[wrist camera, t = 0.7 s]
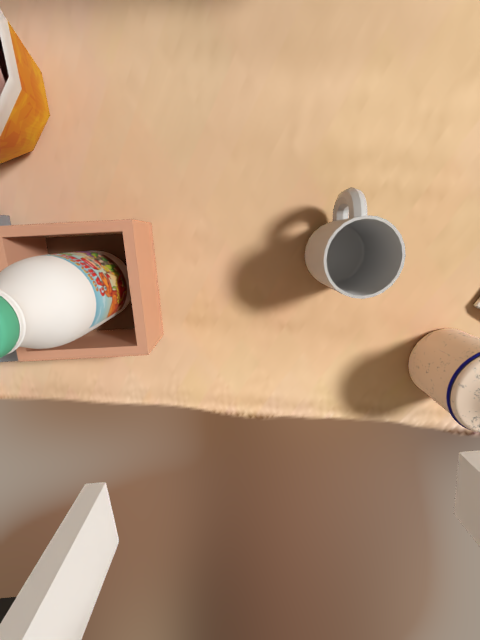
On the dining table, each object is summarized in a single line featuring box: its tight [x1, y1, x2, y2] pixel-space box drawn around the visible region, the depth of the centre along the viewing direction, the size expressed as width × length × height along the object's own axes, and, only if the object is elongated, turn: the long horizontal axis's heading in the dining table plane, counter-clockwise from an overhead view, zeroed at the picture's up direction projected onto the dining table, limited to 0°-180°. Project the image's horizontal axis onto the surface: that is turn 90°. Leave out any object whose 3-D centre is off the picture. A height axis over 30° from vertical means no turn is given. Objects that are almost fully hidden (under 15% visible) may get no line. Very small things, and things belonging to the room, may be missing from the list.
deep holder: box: [0, 219, 163, 361], centre depth 35 cm, size 13×13×7 cm
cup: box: [305, 188, 405, 299], centre depth 33 cm, size 7×10×9 cm
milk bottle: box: [0, 251, 131, 358], centre depth 28 cm, size 8×8×20 cm
